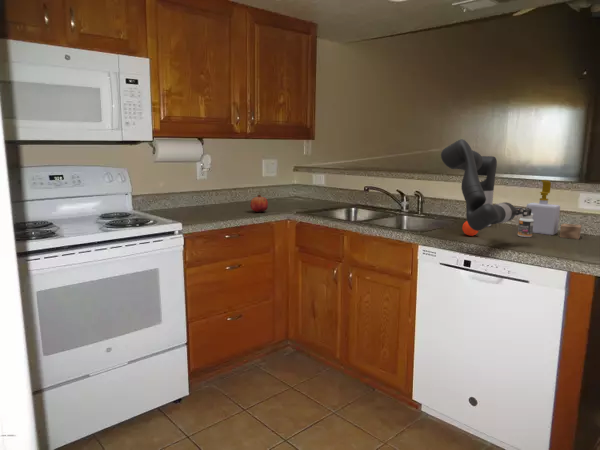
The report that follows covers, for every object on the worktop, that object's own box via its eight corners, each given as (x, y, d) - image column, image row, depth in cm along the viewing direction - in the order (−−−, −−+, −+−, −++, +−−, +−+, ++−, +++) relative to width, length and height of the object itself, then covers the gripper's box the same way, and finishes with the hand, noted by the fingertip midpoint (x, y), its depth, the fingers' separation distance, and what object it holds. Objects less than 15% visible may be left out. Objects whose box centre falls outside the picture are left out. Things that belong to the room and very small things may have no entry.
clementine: (483, 237, 189) (485, 221, 188) (469, 238, 188) (470, 221, 187) (472, 233, 197) (474, 217, 196) (458, 234, 196) (459, 218, 194)
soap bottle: (523, 231, 202) (528, 179, 197) (528, 229, 206) (533, 179, 202) (553, 235, 193) (559, 181, 189) (557, 233, 198) (563, 180, 194)
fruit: (272, 212, 256) (271, 195, 254) (259, 214, 249) (258, 196, 247) (259, 210, 264) (259, 193, 262) (246, 212, 256) (246, 194, 255)
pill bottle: (515, 236, 192) (517, 213, 190) (520, 234, 196) (522, 211, 194) (529, 238, 188) (531, 214, 186) (534, 236, 192) (536, 213, 190)
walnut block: (559, 237, 190) (560, 225, 189) (561, 234, 195) (562, 223, 194) (578, 239, 186) (580, 227, 185) (580, 236, 191) (581, 225, 190)
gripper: (521, 205, 165) (536, 201, 176) (483, 201, 175) (500, 198, 186) (519, 224, 166) (535, 220, 177) (482, 220, 176) (498, 216, 187)
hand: (517, 209), depth 182 cm, fingers open, 8 cm apart
